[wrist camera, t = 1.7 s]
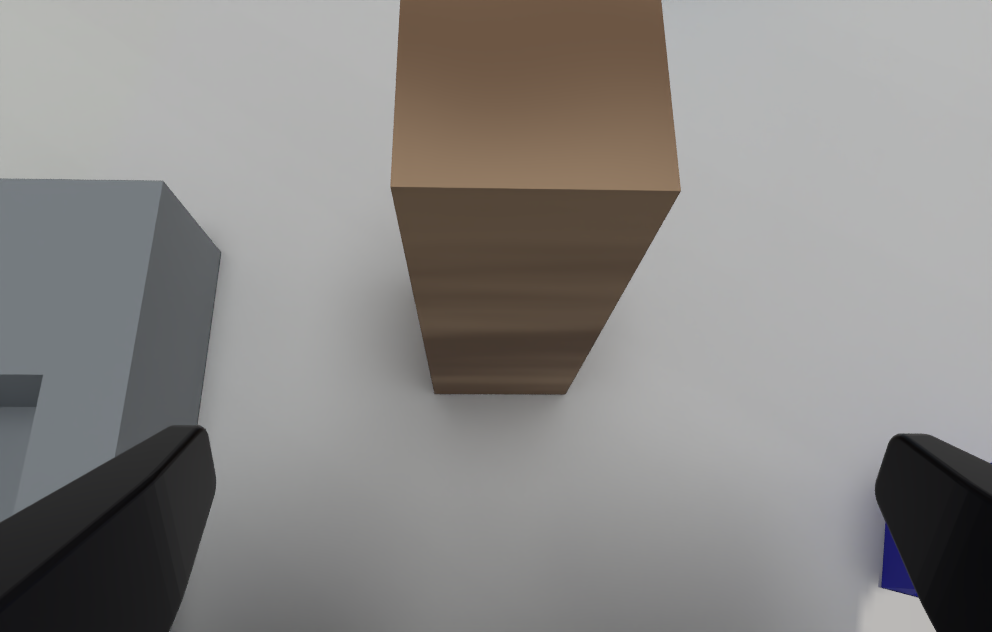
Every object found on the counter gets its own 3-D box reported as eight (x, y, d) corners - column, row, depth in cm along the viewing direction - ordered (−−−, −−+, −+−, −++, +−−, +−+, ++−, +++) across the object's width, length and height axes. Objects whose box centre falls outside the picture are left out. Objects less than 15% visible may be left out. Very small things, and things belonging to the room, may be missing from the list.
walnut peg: (565, 394, 21) (681, 190, 10) (434, 393, 21) (390, 186, 10) (560, 273, 23) (657, -34, 11) (437, 272, 23) (402, -41, 11)
